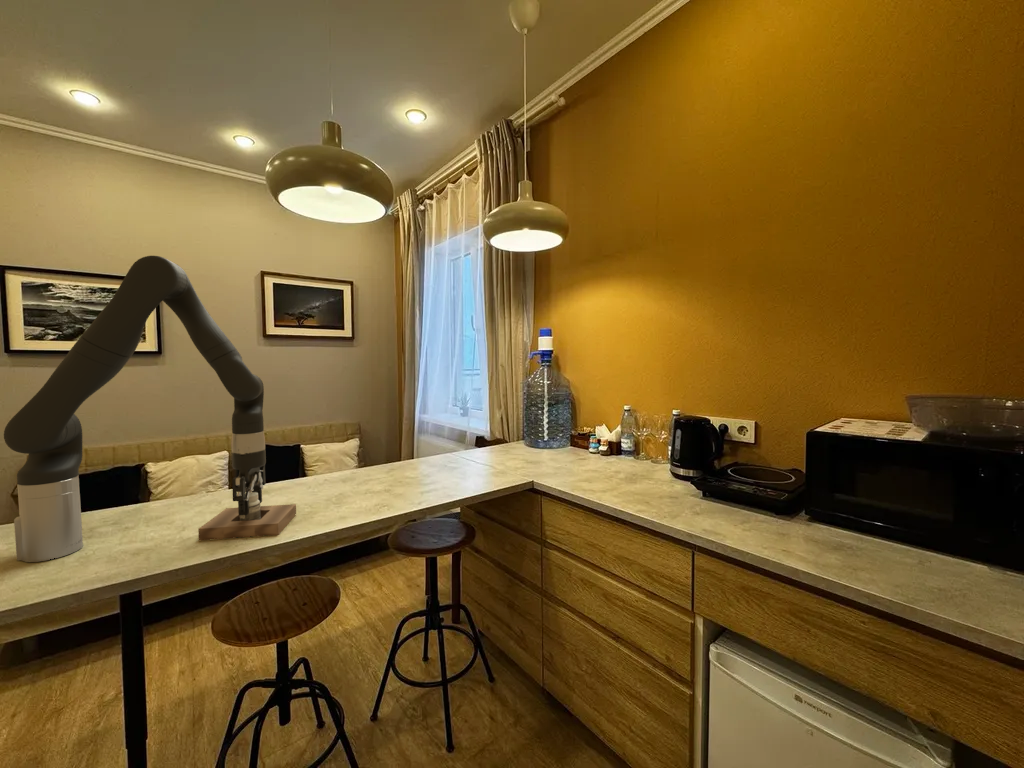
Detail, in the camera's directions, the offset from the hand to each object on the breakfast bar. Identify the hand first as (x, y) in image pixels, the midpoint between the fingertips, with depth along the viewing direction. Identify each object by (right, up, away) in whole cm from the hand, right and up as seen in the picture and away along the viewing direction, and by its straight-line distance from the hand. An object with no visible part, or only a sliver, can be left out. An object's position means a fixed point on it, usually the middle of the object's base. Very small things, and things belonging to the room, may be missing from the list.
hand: (250, 508), depth 108 cm
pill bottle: (0, -5, 0) cm, 5 cm away
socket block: (0, -5, 0) cm, 5 cm away
